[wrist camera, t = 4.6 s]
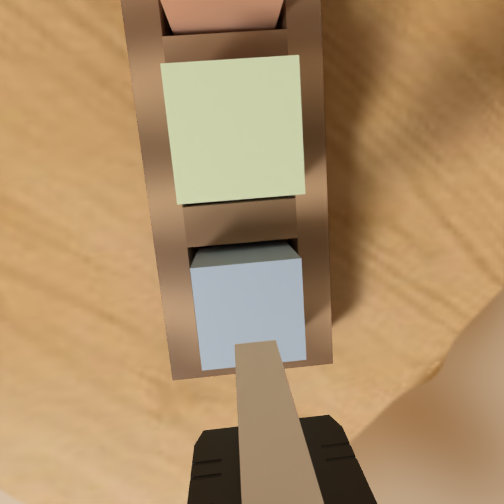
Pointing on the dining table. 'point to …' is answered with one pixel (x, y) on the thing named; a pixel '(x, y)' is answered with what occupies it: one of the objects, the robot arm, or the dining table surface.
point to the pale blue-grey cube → (248, 300)
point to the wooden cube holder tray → (232, 211)
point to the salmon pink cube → (221, 15)
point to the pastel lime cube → (235, 128)
